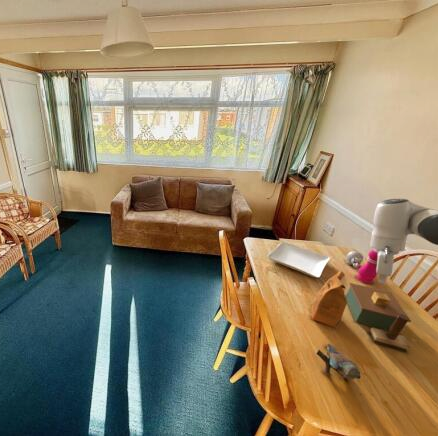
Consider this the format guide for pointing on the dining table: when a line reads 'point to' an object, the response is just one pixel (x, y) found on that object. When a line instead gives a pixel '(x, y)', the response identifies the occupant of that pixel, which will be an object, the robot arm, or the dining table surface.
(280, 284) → the dining table surface
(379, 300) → the block
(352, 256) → the round bodied animal figurine
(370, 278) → the pepper mill
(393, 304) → the cabinet
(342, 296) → the coffee package
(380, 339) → the brush
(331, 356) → the bird figurine
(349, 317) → the dining table surface
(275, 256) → the square plate
